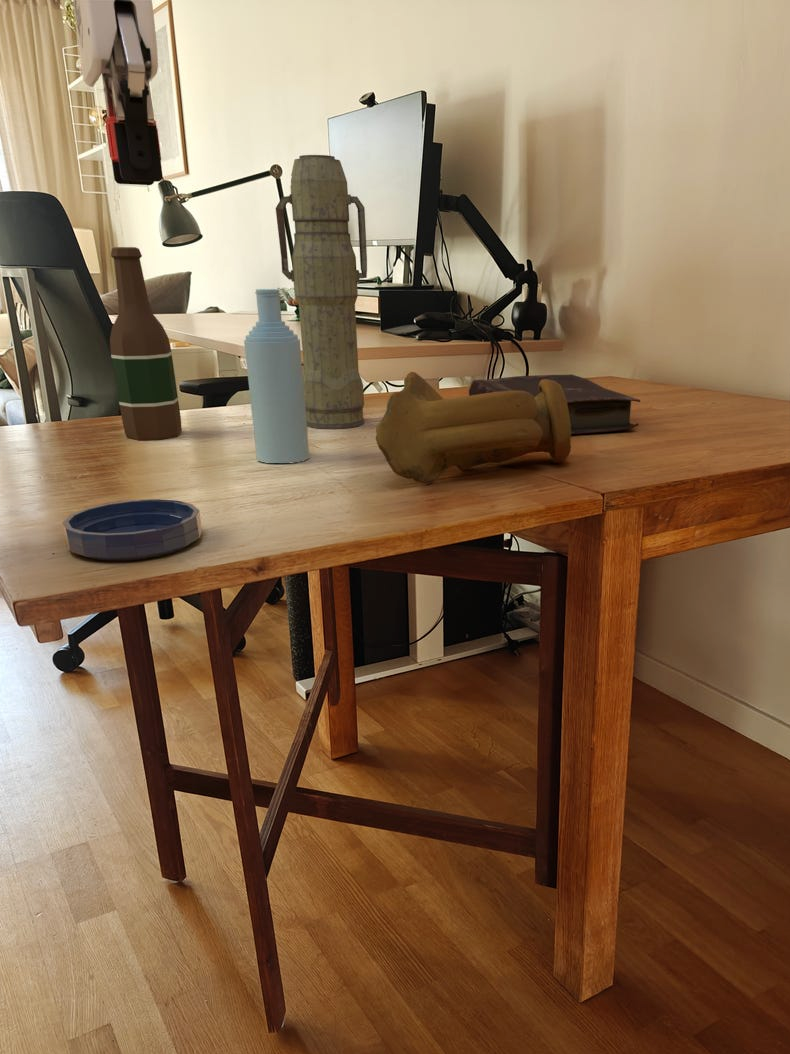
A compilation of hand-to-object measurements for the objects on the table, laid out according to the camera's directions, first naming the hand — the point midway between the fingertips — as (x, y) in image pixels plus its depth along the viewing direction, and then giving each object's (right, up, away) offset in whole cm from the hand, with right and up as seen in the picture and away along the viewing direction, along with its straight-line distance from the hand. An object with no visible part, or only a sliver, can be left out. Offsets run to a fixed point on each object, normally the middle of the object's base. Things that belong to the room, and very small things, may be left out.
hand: (138, 179), depth 72 cm
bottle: (+4, -16, +35) cm, 38 cm away
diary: (+40, -5, +59) cm, 71 cm away
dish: (-1, -30, +3) cm, 30 cm away
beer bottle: (-17, -10, +48) cm, 52 cm away
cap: (0, +1, -1) cm, 1 cm away
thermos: (+7, -7, +57) cm, 57 cm away
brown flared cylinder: (+28, -19, +28) cm, 44 cm away
